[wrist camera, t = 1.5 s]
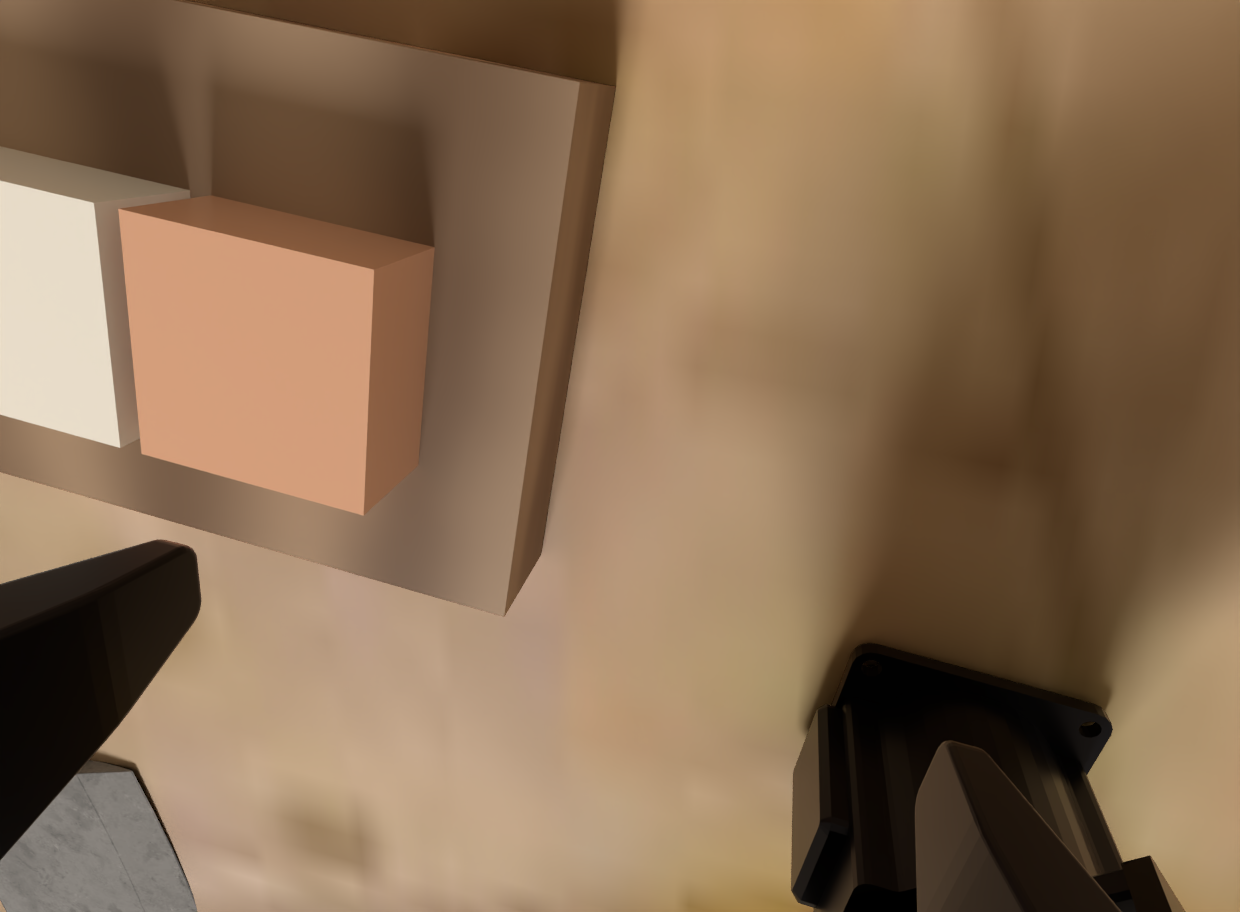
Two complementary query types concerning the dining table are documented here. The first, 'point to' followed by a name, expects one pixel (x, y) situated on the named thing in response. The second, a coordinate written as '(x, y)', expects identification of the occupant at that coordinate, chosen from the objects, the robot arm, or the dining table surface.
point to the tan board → (357, 198)
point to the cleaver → (95, 852)
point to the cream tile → (67, 296)
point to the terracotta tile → (277, 347)
